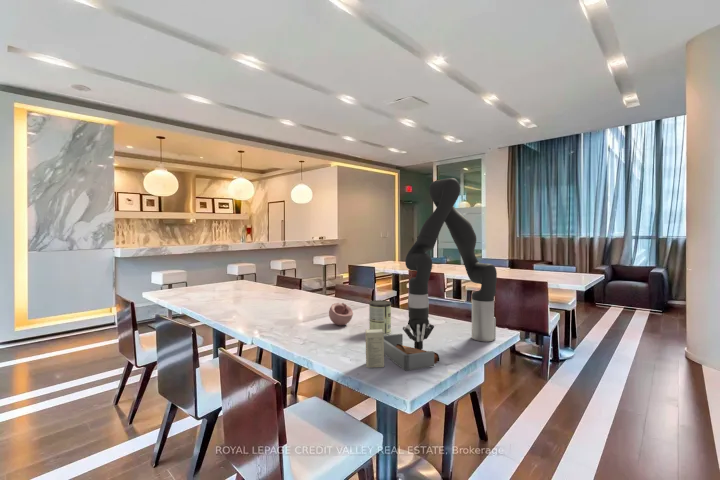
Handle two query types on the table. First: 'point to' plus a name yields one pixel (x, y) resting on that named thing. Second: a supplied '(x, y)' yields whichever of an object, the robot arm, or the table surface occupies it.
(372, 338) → the skincare box
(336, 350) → the table surface
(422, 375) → the table surface
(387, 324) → the coffee can
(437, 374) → the table surface
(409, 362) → the gray u-shaped bracket
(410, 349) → the sunglasses case
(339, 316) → the mortar and pestle
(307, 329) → the table surface
